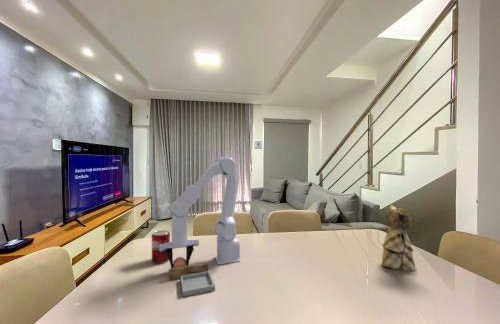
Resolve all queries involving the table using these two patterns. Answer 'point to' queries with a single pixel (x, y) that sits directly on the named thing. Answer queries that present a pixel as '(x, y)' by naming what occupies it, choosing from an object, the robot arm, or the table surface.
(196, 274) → the dish
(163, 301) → the table surface
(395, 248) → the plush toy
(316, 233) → the table surface
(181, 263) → the ball
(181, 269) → the rail
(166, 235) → the soda can
